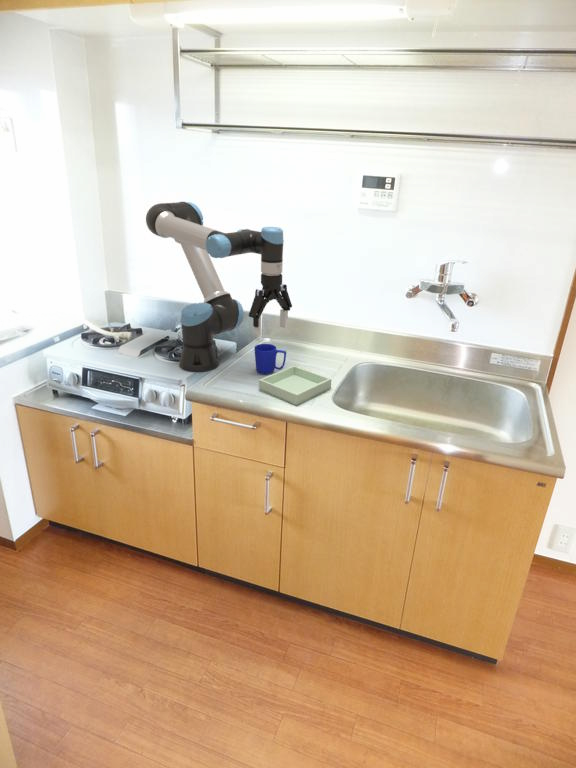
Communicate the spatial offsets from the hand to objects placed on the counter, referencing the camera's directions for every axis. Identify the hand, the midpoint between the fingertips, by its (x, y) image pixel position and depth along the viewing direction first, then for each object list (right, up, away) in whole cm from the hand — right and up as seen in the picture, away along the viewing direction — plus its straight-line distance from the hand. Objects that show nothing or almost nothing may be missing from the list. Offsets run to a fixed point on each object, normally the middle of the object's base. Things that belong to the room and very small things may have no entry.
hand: (270, 331), depth 186 cm
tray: (+9, -21, -7) cm, 24 cm away
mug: (-1, -15, +7) cm, 17 cm away
